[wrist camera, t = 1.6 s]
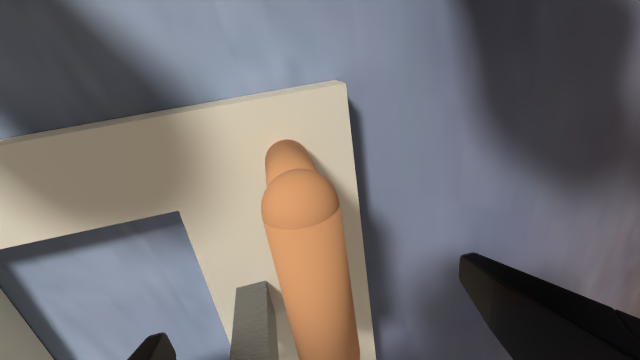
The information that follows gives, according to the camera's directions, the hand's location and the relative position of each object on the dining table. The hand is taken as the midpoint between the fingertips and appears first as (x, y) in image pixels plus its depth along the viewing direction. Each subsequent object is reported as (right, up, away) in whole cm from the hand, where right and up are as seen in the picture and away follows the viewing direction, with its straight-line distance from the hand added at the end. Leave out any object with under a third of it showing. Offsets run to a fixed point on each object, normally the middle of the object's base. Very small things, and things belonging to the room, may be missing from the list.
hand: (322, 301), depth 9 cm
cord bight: (-1, +2, +5) cm, 6 cm away
